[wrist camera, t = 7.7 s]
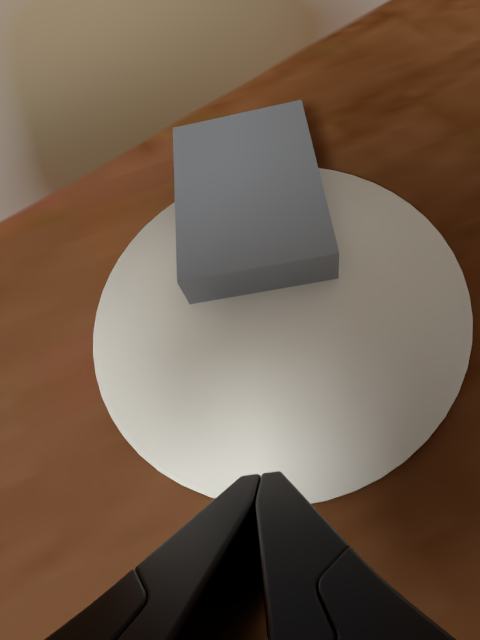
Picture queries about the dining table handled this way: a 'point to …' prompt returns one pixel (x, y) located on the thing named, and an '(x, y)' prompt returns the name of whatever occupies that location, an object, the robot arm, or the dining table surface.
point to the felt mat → (289, 355)
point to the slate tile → (250, 205)
